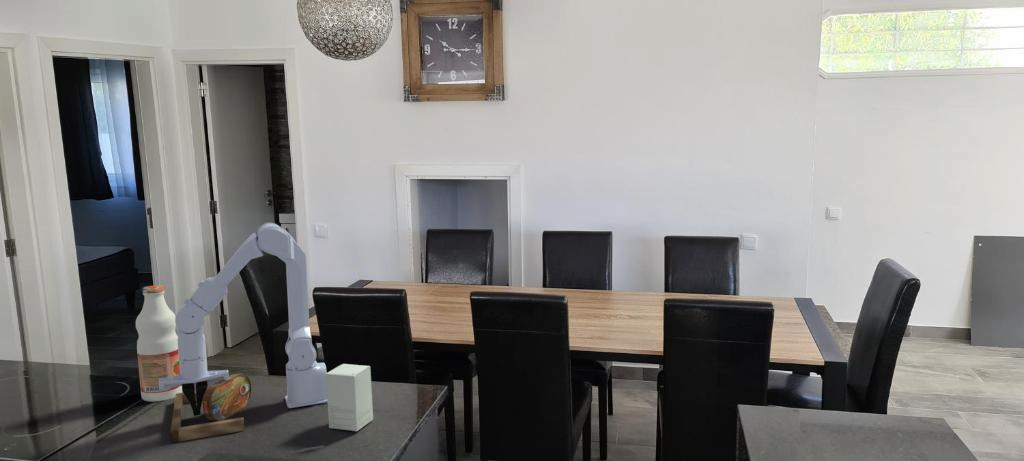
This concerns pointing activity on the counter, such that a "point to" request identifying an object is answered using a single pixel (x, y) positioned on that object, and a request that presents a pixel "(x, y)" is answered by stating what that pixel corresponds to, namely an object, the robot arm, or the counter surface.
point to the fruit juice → (157, 345)
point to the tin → (226, 397)
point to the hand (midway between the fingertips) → (197, 414)
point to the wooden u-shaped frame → (200, 429)
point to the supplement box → (349, 397)
